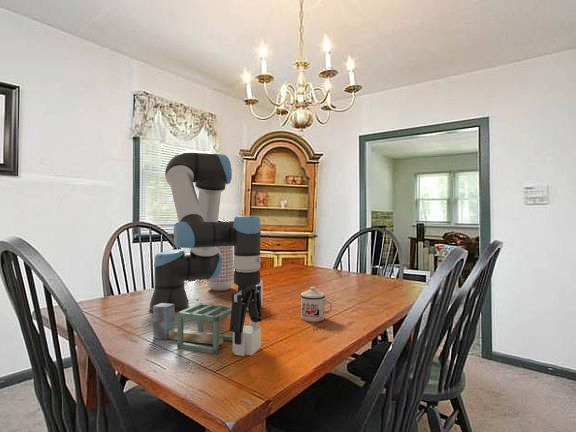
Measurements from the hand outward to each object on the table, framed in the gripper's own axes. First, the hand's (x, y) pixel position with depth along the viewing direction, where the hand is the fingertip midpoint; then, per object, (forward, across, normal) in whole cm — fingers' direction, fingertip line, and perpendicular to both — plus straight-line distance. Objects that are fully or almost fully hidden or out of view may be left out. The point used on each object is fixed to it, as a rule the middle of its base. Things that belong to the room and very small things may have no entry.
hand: (246, 349), depth 102 cm
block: (0, 0, 0) cm, 1 cm away
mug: (+1, +41, +18) cm, 45 cm away
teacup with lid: (+1, +36, -10) cm, 37 cm away
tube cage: (0, 0, +13) cm, 13 cm away
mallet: (0, 0, +20) cm, 20 cm away
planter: (+1, +65, +49) cm, 81 cm away
